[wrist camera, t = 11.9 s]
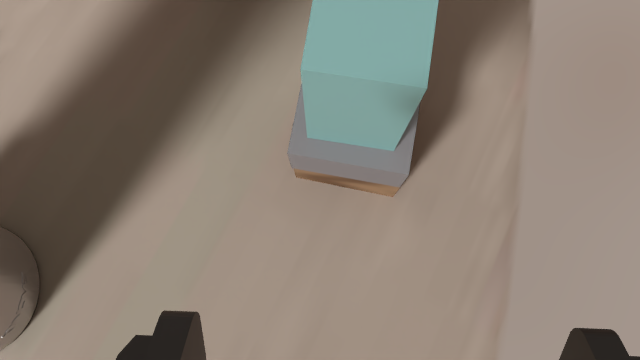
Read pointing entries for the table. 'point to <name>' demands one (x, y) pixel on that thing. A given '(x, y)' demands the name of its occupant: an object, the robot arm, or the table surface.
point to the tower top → (351, 154)
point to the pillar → (366, 68)
